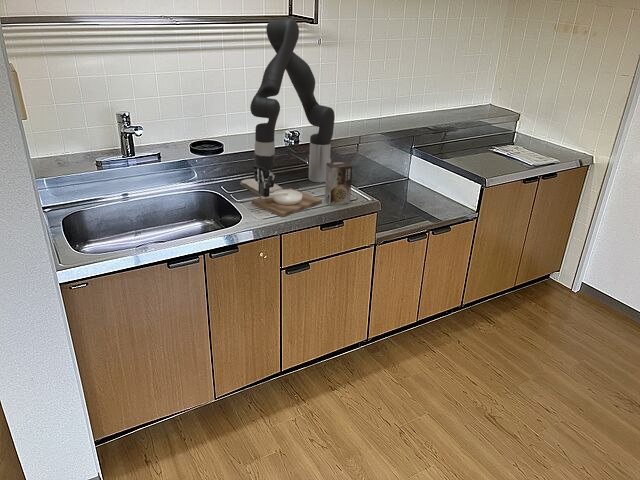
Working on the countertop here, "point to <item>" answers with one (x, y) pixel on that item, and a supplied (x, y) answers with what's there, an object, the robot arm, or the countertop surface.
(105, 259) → the countertop surface
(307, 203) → the dial board
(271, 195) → the dial
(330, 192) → the coffee box
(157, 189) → the countertop surface
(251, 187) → the washcloth
